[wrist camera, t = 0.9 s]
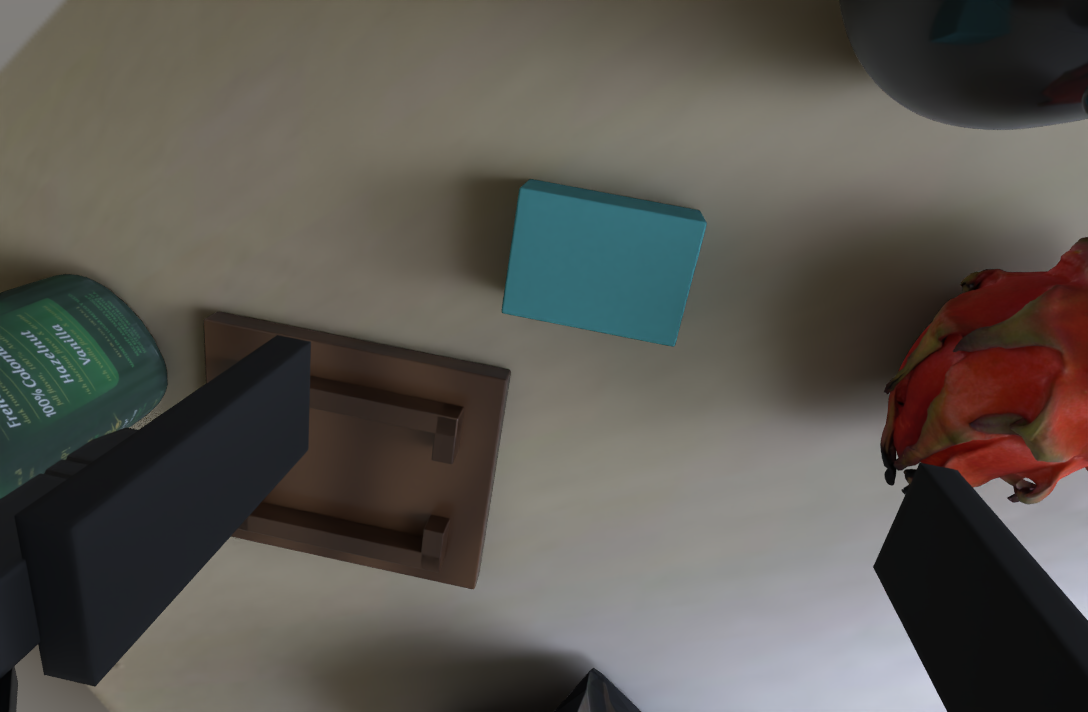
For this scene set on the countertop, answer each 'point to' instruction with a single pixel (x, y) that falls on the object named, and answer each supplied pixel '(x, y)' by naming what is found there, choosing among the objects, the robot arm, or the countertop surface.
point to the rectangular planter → (596, 696)
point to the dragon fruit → (998, 382)
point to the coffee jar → (69, 372)
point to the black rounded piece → (976, 58)
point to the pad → (601, 261)
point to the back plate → (380, 453)
